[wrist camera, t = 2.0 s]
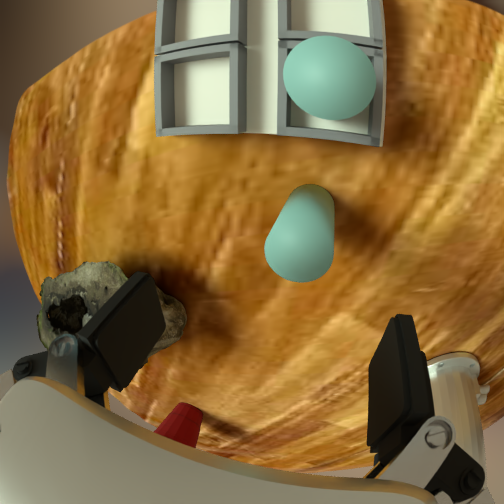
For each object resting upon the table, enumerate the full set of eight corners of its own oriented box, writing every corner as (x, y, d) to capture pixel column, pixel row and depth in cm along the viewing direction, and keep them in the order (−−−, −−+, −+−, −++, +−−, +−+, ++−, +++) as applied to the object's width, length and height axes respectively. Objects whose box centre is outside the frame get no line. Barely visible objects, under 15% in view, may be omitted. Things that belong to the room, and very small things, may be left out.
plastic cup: (224, 418, 46) (203, 467, 36) (201, 424, 52) (181, 465, 42) (179, 390, 45) (151, 439, 35) (161, 400, 51) (137, 440, 41)
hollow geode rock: (88, 280, 45) (79, 356, 40) (34, 261, 34) (22, 349, 29) (210, 286, 35) (200, 400, 30) (143, 257, 23) (127, 417, 19)
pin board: (377, -10, 11) (396, -70, 3) (379, 144, 18) (412, 167, 10) (169, 1, 15) (99, -26, 7) (168, 133, 22) (91, 153, 14)
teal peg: (337, 187, 21) (338, 225, 14) (331, 232, 23) (327, 286, 16) (288, 181, 22) (265, 216, 15) (285, 226, 24) (263, 276, 17)
